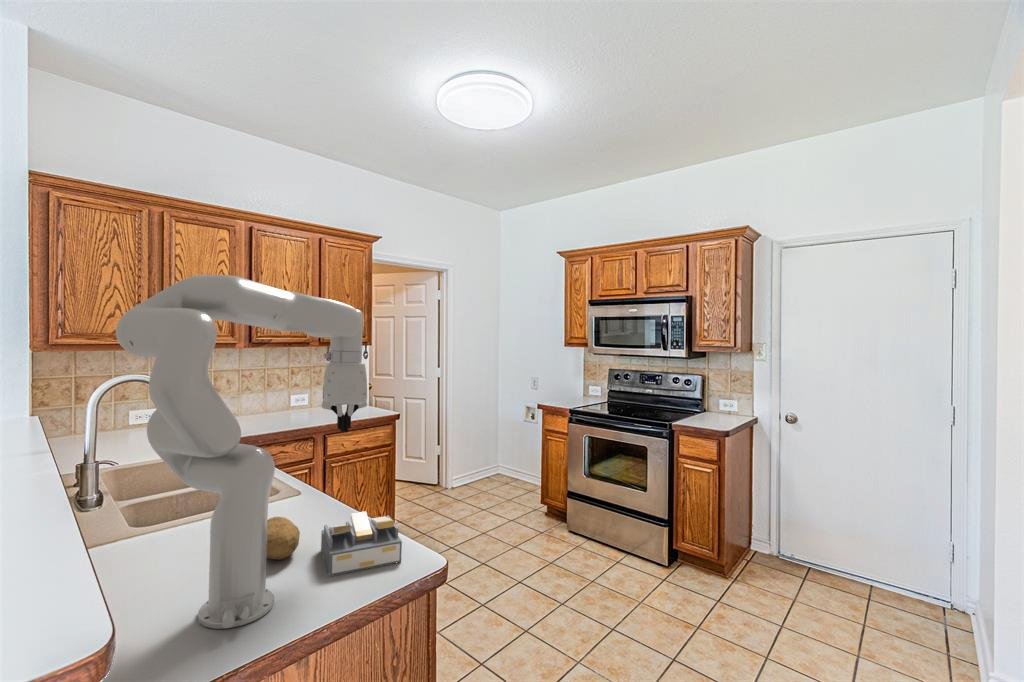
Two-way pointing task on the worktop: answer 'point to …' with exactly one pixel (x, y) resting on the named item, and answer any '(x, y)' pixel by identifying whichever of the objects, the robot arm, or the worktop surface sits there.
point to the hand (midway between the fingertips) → (343, 431)
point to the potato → (281, 538)
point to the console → (360, 549)
